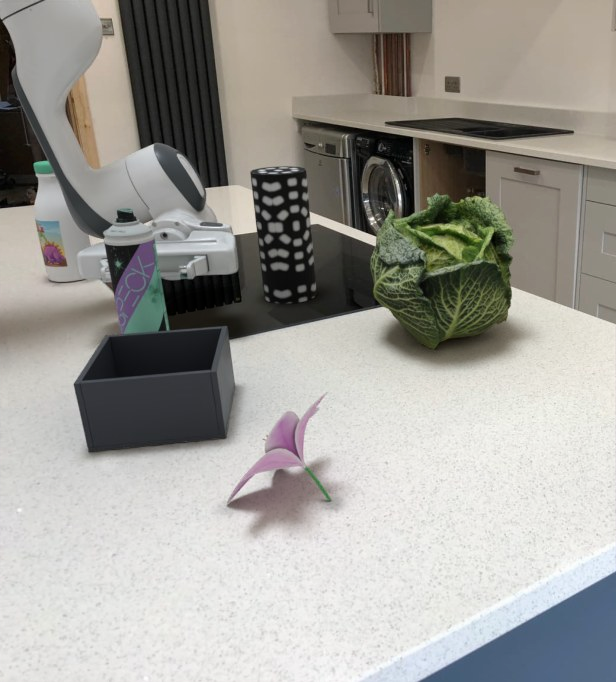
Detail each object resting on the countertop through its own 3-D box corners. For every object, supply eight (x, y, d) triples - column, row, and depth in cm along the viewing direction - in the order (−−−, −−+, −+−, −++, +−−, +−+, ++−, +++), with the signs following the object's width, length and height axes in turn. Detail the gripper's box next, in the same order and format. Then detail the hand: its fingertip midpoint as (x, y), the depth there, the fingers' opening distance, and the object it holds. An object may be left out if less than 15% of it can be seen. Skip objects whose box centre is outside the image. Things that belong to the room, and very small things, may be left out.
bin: (88, 452, 73) (73, 383, 70) (117, 395, 85) (105, 335, 82) (226, 438, 75) (216, 371, 72) (235, 384, 87) (227, 325, 84)
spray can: (126, 364, 93) (97, 207, 86) (171, 356, 95) (146, 203, 88) (130, 380, 89) (99, 216, 81) (178, 371, 91) (152, 211, 84)
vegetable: (414, 395, 100) (406, 296, 84) (354, 303, 110) (337, 200, 95) (535, 338, 106) (549, 236, 90) (467, 256, 117) (469, 152, 101)
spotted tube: (255, 294, 119) (240, 170, 112) (300, 284, 124) (289, 164, 117) (279, 307, 113) (265, 176, 106) (326, 296, 118) (316, 170, 111)
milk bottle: (89, 268, 135) (67, 157, 128) (101, 277, 130) (79, 161, 122) (43, 276, 130) (17, 161, 123) (54, 285, 125) (28, 166, 118)
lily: (342, 457, 73) (290, 378, 71) (399, 462, 64) (341, 371, 61) (244, 538, 67) (184, 454, 65) (291, 557, 58) (221, 460, 55)
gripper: (92, 228, 103) (54, 253, 90) (242, 223, 105) (225, 247, 92) (100, 271, 105) (64, 302, 92) (247, 266, 107) (231, 295, 94)
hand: (146, 274), depth 92 cm, fingers open, 8 cm apart
